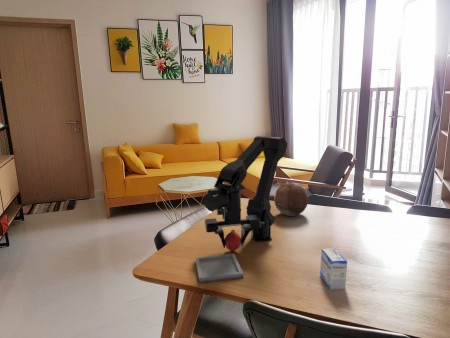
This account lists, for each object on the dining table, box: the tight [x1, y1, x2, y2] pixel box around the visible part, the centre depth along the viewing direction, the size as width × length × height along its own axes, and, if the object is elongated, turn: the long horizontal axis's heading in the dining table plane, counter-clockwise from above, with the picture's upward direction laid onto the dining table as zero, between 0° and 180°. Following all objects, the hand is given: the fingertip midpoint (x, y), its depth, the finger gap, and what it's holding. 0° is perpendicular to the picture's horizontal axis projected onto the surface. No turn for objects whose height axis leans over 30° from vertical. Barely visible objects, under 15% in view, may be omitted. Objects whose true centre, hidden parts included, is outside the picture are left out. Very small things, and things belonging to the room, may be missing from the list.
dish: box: [195, 252, 244, 284], centre depth 101 cm, size 13×13×2 cm
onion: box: [224, 229, 241, 253], centre depth 112 cm, size 6×6×8 cm
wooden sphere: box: [273, 182, 309, 217], centre depth 146 cm, size 15×15×15 cm
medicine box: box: [319, 247, 348, 291], centre depth 92 cm, size 8×4×9 cm, turn 5°
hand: (232, 246), depth 112 cm, fingers closed on onion, 6 cm apart
